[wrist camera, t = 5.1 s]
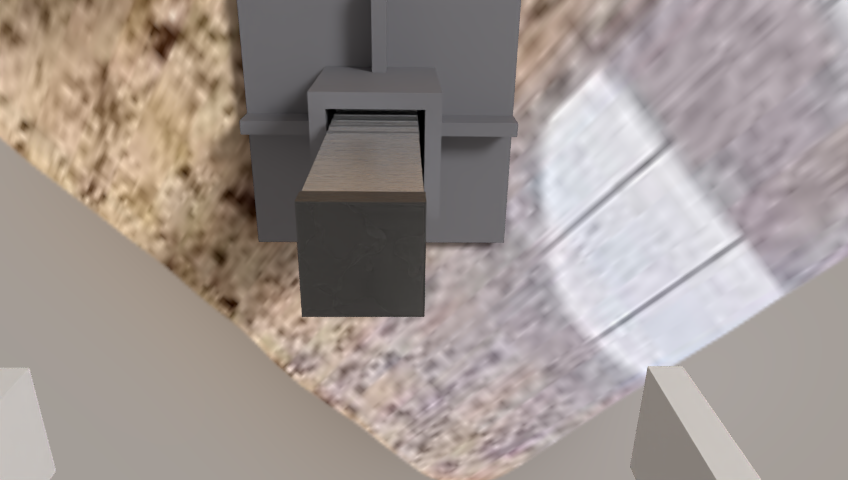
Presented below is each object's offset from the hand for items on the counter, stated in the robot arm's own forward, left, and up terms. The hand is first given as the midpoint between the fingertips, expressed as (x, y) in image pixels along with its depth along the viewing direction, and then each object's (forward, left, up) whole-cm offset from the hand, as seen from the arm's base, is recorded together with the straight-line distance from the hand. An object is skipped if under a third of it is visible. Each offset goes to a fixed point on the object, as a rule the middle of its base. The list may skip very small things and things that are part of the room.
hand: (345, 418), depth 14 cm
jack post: (0, 0, -27) cm, 27 cm away
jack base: (0, 0, -29) cm, 29 cm away
